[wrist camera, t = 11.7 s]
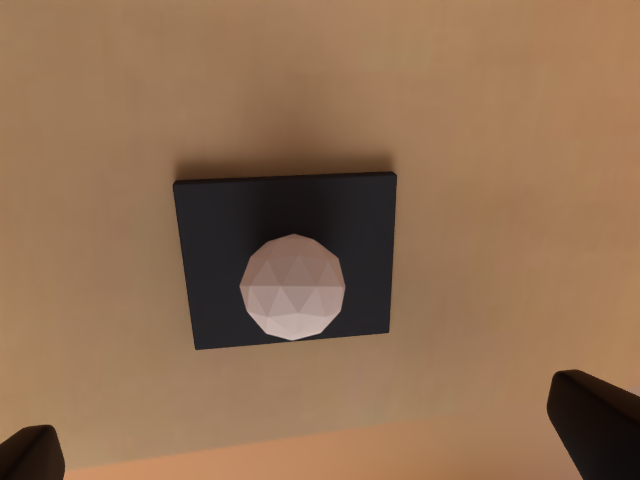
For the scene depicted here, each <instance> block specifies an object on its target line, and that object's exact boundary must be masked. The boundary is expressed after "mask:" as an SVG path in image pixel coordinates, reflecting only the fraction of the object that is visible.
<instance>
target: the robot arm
mask: <svg viewBox="0 0 640 480" xmlns="http://www.w3.org/2000/svg"><path fill="white" fill-rule="evenodd" d="M547 413H548V416H549V418H550V421H551V422H552V424H553V426H554V428H555V430H556V431H557V433H558V435H559V437H560V439H561V440H562V442H563V444H564V446H565V448H566V449H567V451H568V453H569V455H570V457H571V458H572V460H573V462H574V464H575V466H576V467H577V469H578V471H579V473H580V475H581V476H582V478H583V480H640V397H639V396H637V395H635V394H632V393H630V392H628V391H626V390H623V389H621V388H619V387H617V386H614V385H612V384H610V383H608V382H605V381H603V380H601V379H599V378H596V377H594V376H592V375H589V374H587V373H585V372H583V371H580V370H564V371H558V372H556V373H555V374H554V376H553V378H552V383H551V387H550V392H549V397H548V401H547ZM64 472H65V461H64V457H63V453H62V450H61V447H60V443H59V440H58V436H57V433H56V430H55V428H54V427H53V426H52V425H38V426H29V427H25V428H22V429H21V430H19V431H18V432H17V433H15V434H14V435H13V436H11V437H10V438H8V439H7V440H6V441H4V442H3V443H2V444H0V480H63V477H64Z"/></svg>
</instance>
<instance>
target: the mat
mask: <svg viewBox="0 0 640 480" xmlns="http://www.w3.org/2000/svg"><path fill="white" fill-rule="evenodd" d="M396 186H397V175H396V174H395V173H394V172H392V171H390V172H366V173H343V174H319V175H295V176H271V177H248V178H224V179H200V180H177V181H175V182H174V184H173V192H174V199H175V206H176V214H177V221H178V228H179V235H180V243H181V250H182V257H183V265H184V272H185V279H186V286H187V294H188V301H189V308H190V316H191V323H192V330H193V338H194V345H195V349H196V350H203V349H214V348H225V347H236V346H247V345H259V344H270V343H281V342H292V341H303V340H315V339H326V338H337V337H348V336H359V335H371V334H382V333H389V325H390V305H391V285H392V265H393V245H394V226H395V206H396ZM291 234H297V235H300V236H304V237H307V238H310V239H313V240H315V241H316V242H318V243H319V244H321V245H322V246H323V247H325V248H326V249H327V250H328V251H330V252H331V253H332V254H333V255H335V256H336V257H337V258H338V259H339V263H340V267H341V271H342V275H343V279H344V283H345V291H344V297H343V302H342V307H341V311H340V312H339V314H338V315H337V316H336V317H335V318H334V319H333V320H332V321H331V322H330V323H329V324H328V326H327V327H326V328H325V329H324V330H323V331H322V332H321V333H319V334H315V335H311V336H308V337H304V338H300V339H296V340H289V339H285V338H281V337H277V336H274V335H270V334H266V333H265V332H264V331H263V329H262V328H261V327H260V326H259V325H258V324H257V322H256V321H255V320H254V319H253V318H252V317H251V316H250V314H249V313H248V312H247V310H246V307H245V303H244V300H243V296H242V293H241V290H240V283H241V281H242V278H243V275H244V273H245V270H246V267H247V265H248V262H249V260H250V257H251V256H252V255H253V254H254V253H255V252H256V251H258V250H259V249H260V248H261V247H262V246H263V245H264V244H265V243H266V242H268V241H271V240H275V239H278V238H281V237H285V236H288V235H291Z"/></svg>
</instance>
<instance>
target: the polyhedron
mask: <svg viewBox="0 0 640 480" xmlns="http://www.w3.org/2000/svg"><path fill="white" fill-rule="evenodd" d="M240 290H241V293H242V296H243V300H244V303H245V307H246V310H247V312H248V313H249V314H250V316H251V317H252V318H253V319H254V320H255V321H256V322H257V324H258V325H259V326H260V327H261V328H262V329H263V331H264V332H265V333H266V334H270V335H274V336H277V337H281V338H285V339H289V340H296V339H300V338H304V337H308V336H311V335H315V334H319V333H321V332H322V331H323V330H324V329H325V328H326V327H327V326H328V324H329V323H330V322H331V321H332V320H333V319H334V318H335V317H336V316H337V315H338V314H339V312H340V311H341V307H342V302H343V297H344V291H345V283H344V279H343V275H342V271H341V267H340V263H339V259H338V258H337V257H336V256H335V255H333V254H332V253H331V252H330V251H328V250H327V249H326V248H325V247H323V246H322V245H321V244H319V243H318V242H316V241H315V240H313V239H310V238H307V237H304V236H300V235H297V234H291V235H288V236H285V237H281V238H278V239H275V240H271V241H268V242H266V243H265V244H264V245H263V246H262V247H261V248H260V249H259V250H258V251H256V252H255V253H254V254H253V255H252V256H251V257H250V260H249V262H248V265H247V267H246V270H245V273H244V275H243V278H242V281H241V283H240Z"/></svg>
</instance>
